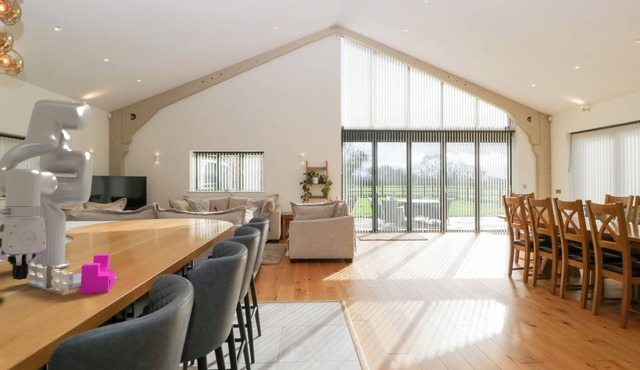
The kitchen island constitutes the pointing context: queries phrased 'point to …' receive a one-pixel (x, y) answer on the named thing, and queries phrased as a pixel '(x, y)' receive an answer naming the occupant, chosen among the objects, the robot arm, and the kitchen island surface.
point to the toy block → (97, 275)
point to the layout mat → (75, 285)
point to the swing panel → (37, 273)
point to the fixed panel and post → (59, 279)
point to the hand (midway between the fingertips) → (20, 278)
